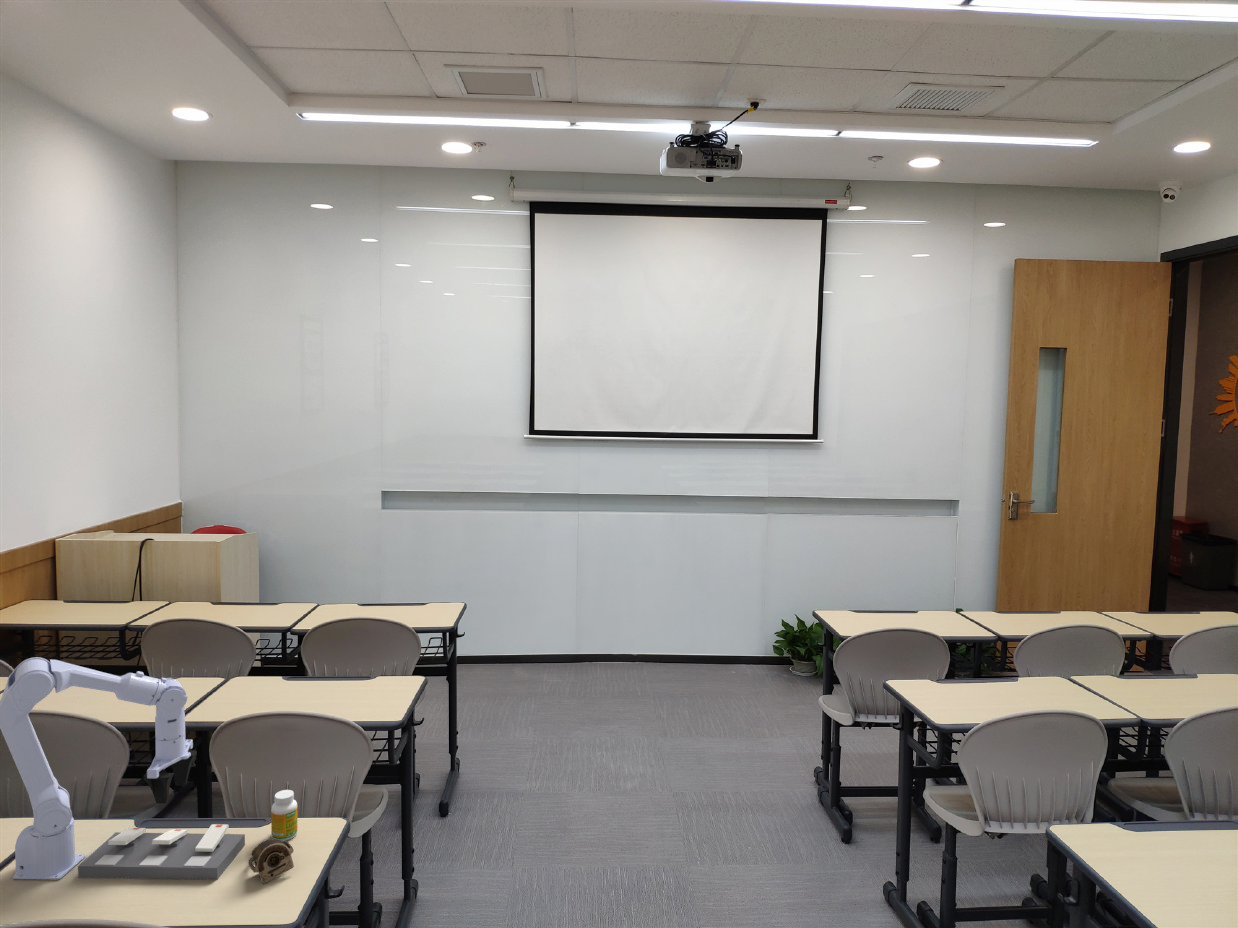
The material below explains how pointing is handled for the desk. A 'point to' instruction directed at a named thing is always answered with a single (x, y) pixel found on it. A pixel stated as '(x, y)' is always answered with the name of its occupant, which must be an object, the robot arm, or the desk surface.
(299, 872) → the desk surface
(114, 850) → the rocker switch panel
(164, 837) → the rocker middle
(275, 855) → the mechanical counter
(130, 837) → the rocker left
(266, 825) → the desk surface
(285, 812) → the supplement bottle
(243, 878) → the desk surface
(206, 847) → the rocker right
